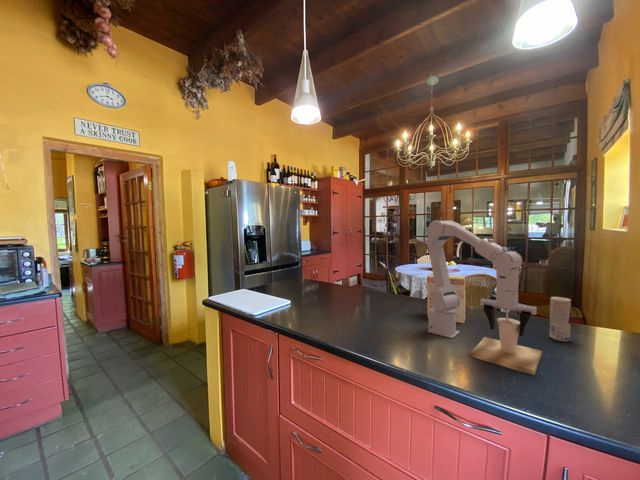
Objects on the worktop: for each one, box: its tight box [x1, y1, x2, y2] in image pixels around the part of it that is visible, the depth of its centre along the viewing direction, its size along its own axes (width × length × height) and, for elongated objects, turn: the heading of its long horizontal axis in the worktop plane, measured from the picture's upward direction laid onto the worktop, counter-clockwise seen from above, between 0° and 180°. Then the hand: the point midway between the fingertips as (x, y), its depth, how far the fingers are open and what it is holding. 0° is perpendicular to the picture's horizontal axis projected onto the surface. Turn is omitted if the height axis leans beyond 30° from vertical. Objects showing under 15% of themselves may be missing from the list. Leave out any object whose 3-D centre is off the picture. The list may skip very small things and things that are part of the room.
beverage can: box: [549, 296, 572, 342], centre depth 97 cm, size 6×6×15 cm
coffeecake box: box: [426, 273, 466, 324], centre depth 120 cm, size 15×7×20 cm, turn 58°
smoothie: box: [496, 309, 520, 353], centre depth 85 cm, size 6×6×14 cm
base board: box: [470, 336, 543, 376], centre depth 85 cm, size 16×16×2 cm
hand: (506, 331), depth 85 cm, fingers open, 7 cm apart
